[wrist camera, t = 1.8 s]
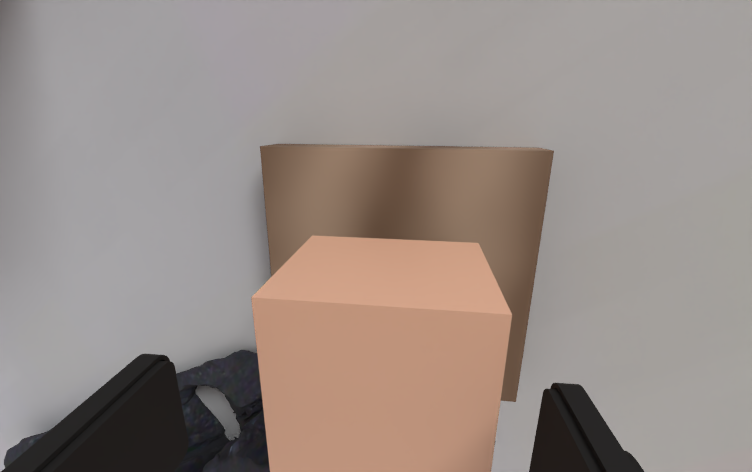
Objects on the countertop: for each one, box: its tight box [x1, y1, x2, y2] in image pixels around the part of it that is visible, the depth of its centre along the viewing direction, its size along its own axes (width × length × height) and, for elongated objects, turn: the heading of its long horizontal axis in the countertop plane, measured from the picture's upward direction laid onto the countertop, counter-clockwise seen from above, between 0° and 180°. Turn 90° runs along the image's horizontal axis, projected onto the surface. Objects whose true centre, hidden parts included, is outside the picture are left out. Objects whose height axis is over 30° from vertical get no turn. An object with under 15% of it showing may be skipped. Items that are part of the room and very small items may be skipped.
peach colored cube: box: [251, 235, 512, 472], centre depth 11 cm, size 6×6×5 cm
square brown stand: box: [260, 144, 554, 402], centre depth 14 cm, size 12×12×9 cm
